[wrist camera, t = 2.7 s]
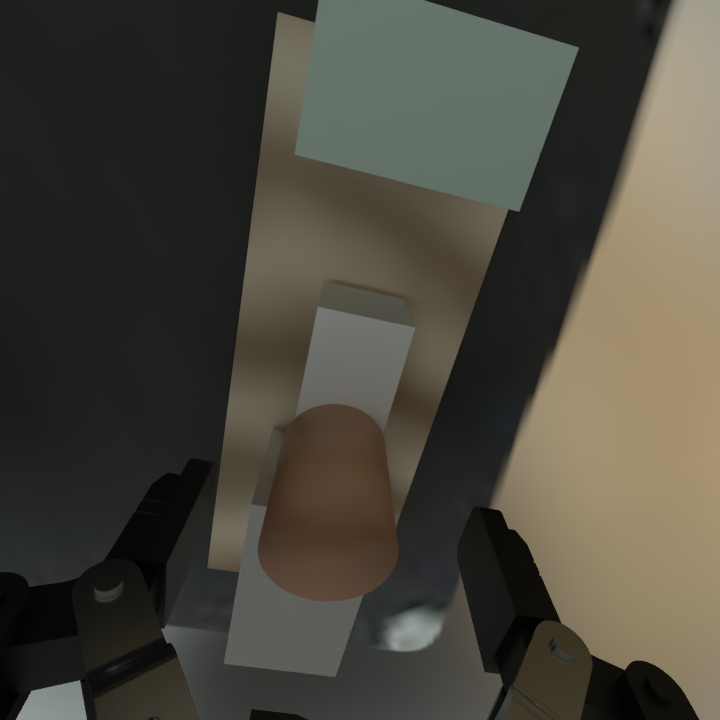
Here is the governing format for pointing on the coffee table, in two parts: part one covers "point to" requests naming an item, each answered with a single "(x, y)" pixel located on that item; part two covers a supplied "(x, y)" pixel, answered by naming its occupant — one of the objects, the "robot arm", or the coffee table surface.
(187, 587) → the coffee table surface
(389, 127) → the sage socket
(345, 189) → the oak base
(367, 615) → the coffee table surface
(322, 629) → the aluminium sleeve
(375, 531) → the tube
